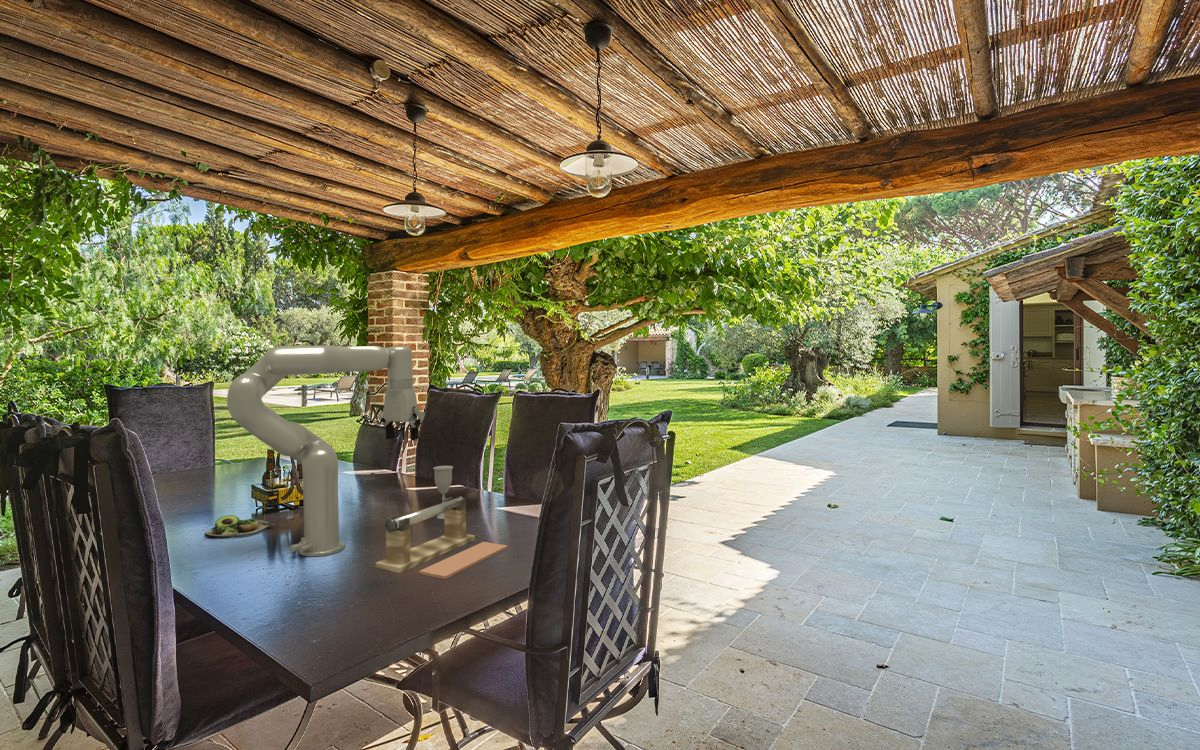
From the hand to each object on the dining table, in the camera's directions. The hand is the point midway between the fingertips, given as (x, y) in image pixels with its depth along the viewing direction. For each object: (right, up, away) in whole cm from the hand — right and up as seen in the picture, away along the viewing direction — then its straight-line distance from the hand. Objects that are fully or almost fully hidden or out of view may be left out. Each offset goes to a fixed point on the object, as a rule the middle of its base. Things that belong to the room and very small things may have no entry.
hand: (402, 439), depth 192 cm
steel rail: (+12, -21, -13) cm, 27 cm away
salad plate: (-59, -33, +11) cm, 68 cm away
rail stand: (+12, -33, -13) cm, 37 cm away
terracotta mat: (+24, -33, -19) cm, 45 cm away
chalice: (+6, -31, +27) cm, 42 cm away
